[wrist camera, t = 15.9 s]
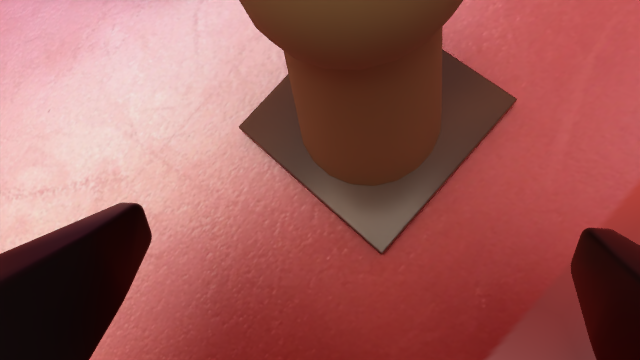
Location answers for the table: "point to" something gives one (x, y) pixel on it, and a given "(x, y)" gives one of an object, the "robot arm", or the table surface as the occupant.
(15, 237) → the table surface
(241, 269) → the table surface
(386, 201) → the dark mat
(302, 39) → the cork
